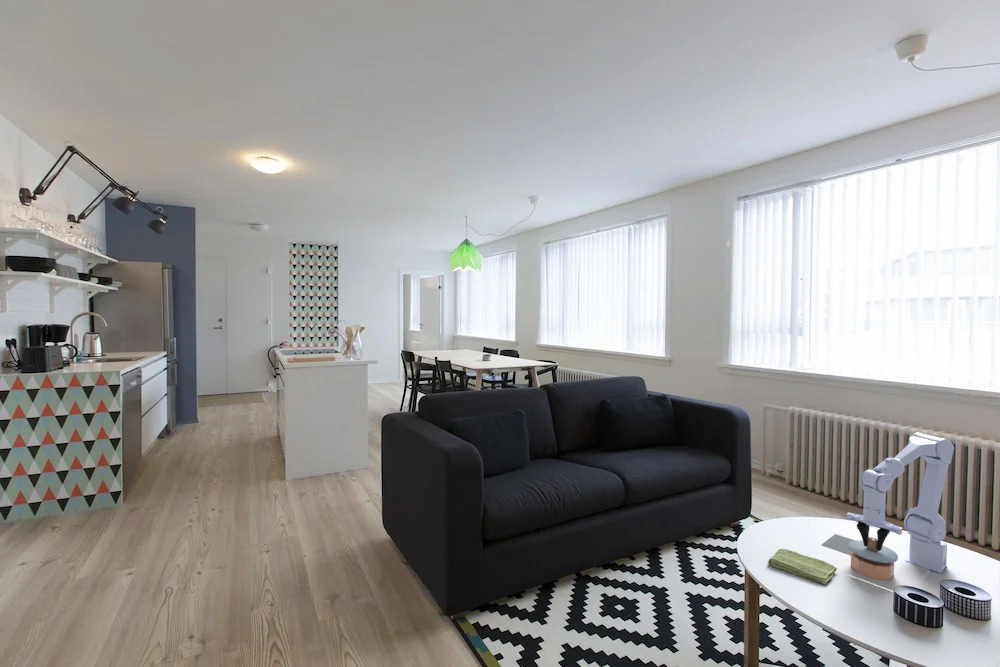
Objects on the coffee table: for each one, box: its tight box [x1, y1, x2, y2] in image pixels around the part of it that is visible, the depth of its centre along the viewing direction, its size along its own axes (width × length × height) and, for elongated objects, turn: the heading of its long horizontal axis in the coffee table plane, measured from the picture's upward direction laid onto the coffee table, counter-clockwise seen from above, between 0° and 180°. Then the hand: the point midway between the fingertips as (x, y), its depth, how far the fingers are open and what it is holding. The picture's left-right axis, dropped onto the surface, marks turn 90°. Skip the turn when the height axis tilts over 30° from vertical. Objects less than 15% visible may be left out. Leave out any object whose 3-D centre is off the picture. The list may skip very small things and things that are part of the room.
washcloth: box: [767, 548, 838, 585], centre depth 164 cm, size 13×18×3 cm
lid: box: [848, 536, 899, 563], centre depth 162 cm, size 13×13×4 cm
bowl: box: [850, 553, 895, 581], centre depth 162 cm, size 11×11×4 cm
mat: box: [821, 533, 856, 556], centre depth 178 cm, size 14×14×1 cm
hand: (872, 547), depth 162 cm, fingers closed on lid, 3 cm apart
